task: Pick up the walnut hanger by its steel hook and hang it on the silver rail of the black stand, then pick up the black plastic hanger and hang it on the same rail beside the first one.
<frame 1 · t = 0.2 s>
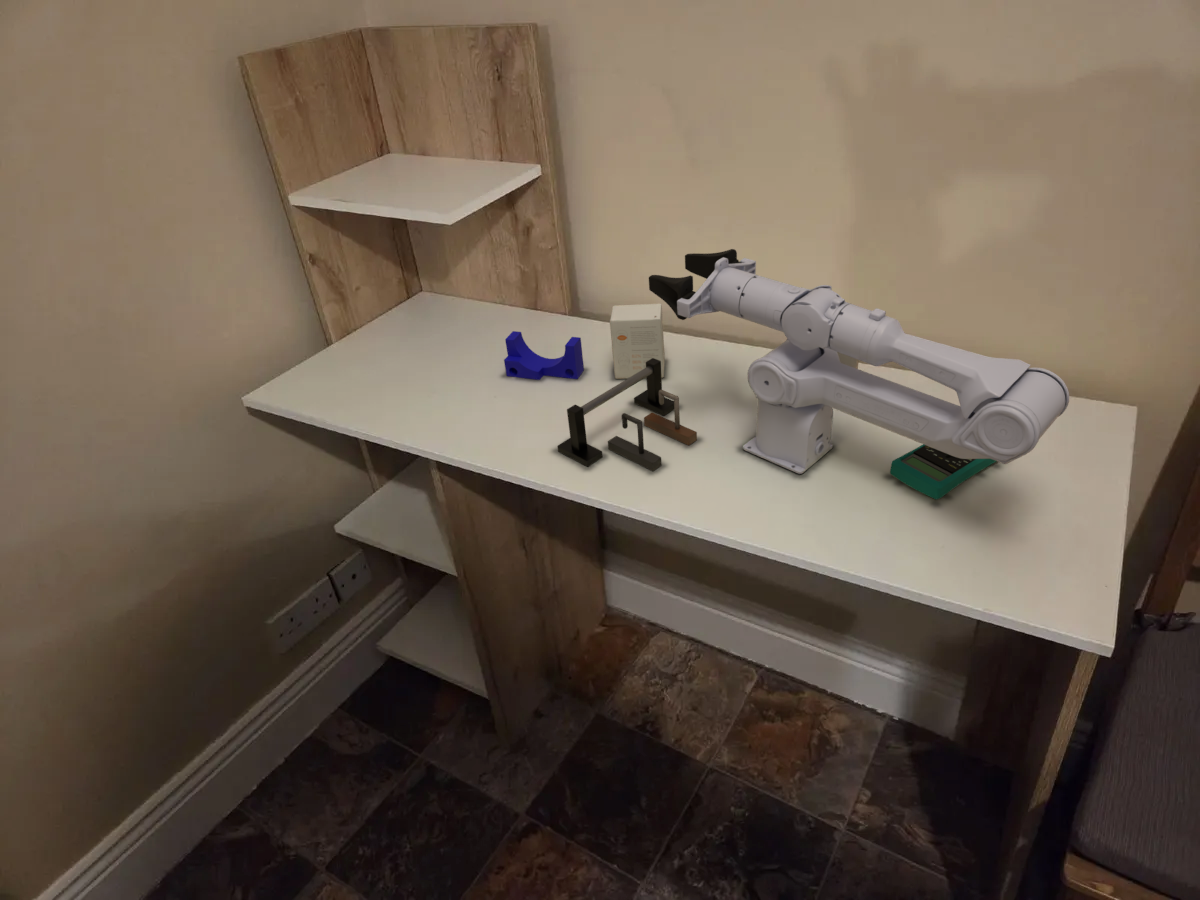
hand: (668, 271, 110), 21 cm above the table, tool horizontal, fingers open, 7 cm apart
black hanger: (634, 457, 112), on the table
blue curved cradle bracket: (545, 374, 133), on the table
small box: (640, 371, 131), on the table
walnut hanger: (670, 432, 116), on the table
digital multimeter: (946, 468, 104), on the table
rail stand: (619, 428, 118), on the table
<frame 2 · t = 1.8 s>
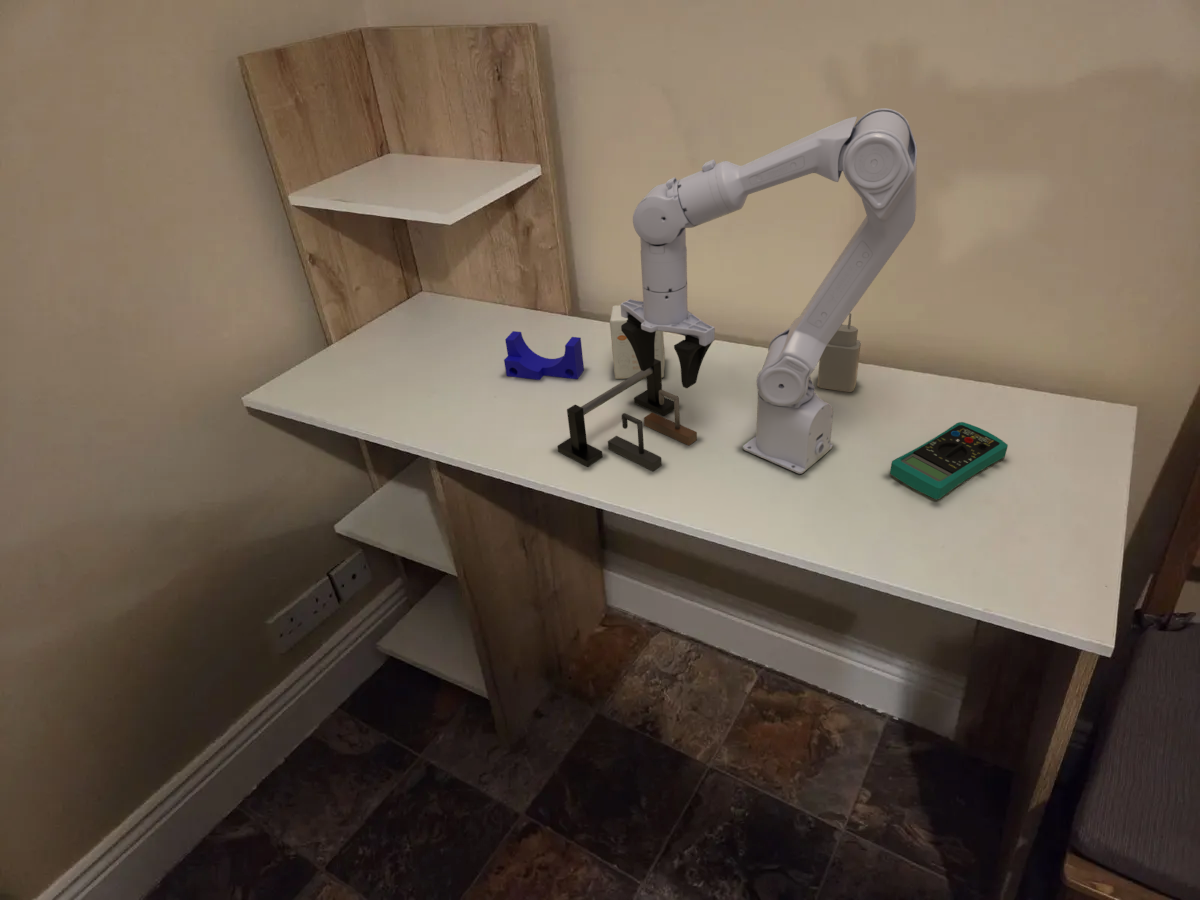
hand: (667, 376, 110), 9 cm above the table, tool pointing down, fingers open, 7 cm apart
nothing on the table moved.
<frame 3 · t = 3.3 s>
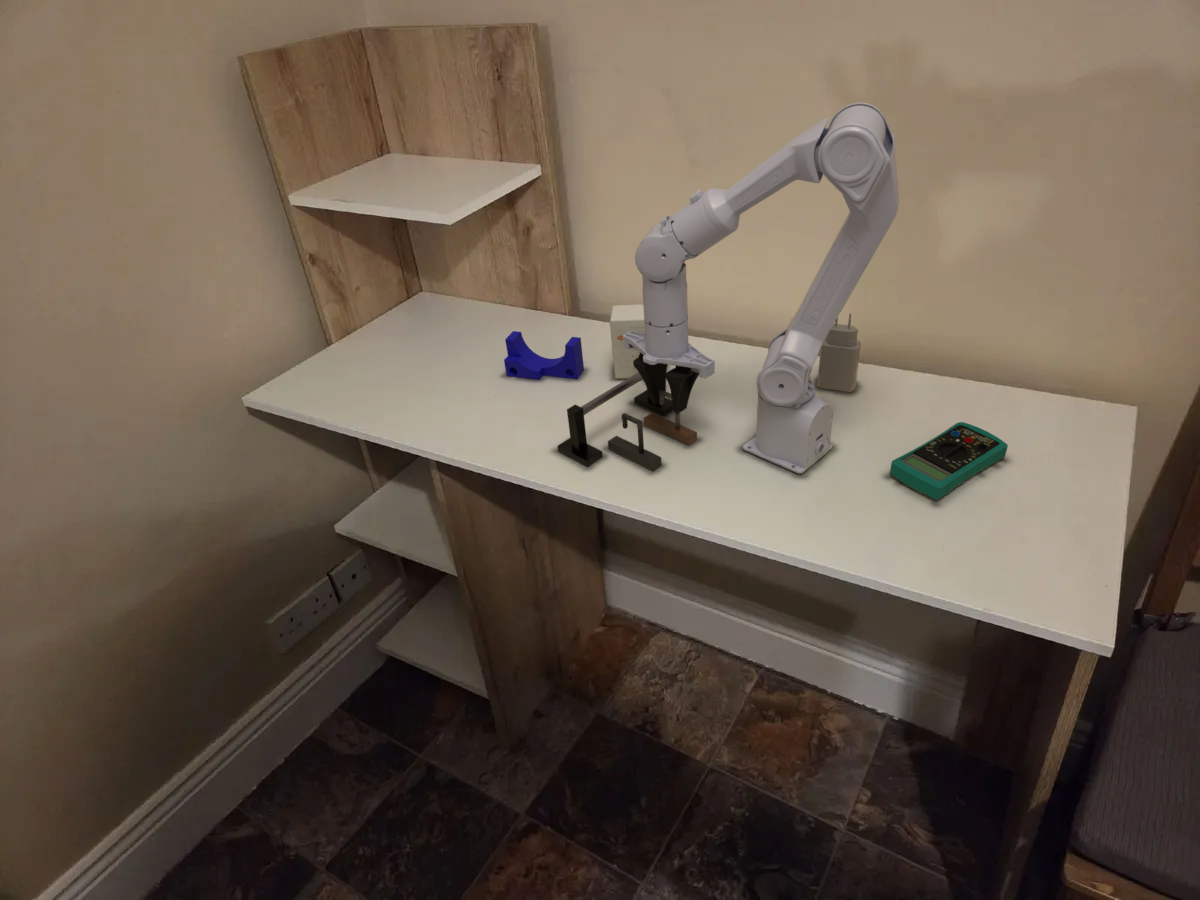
hand: (669, 405, 113), 5 cm above the table, tool pointing down, fingers closed on walnut hanger, 3 cm apart
walnut hanger: (670, 432, 116), on the table, touching gripper
everything else where it was.
when the fingers open (6 cm above the table, at t = 6.4 s): walnut hanger stays where it is, resting on rail stand.
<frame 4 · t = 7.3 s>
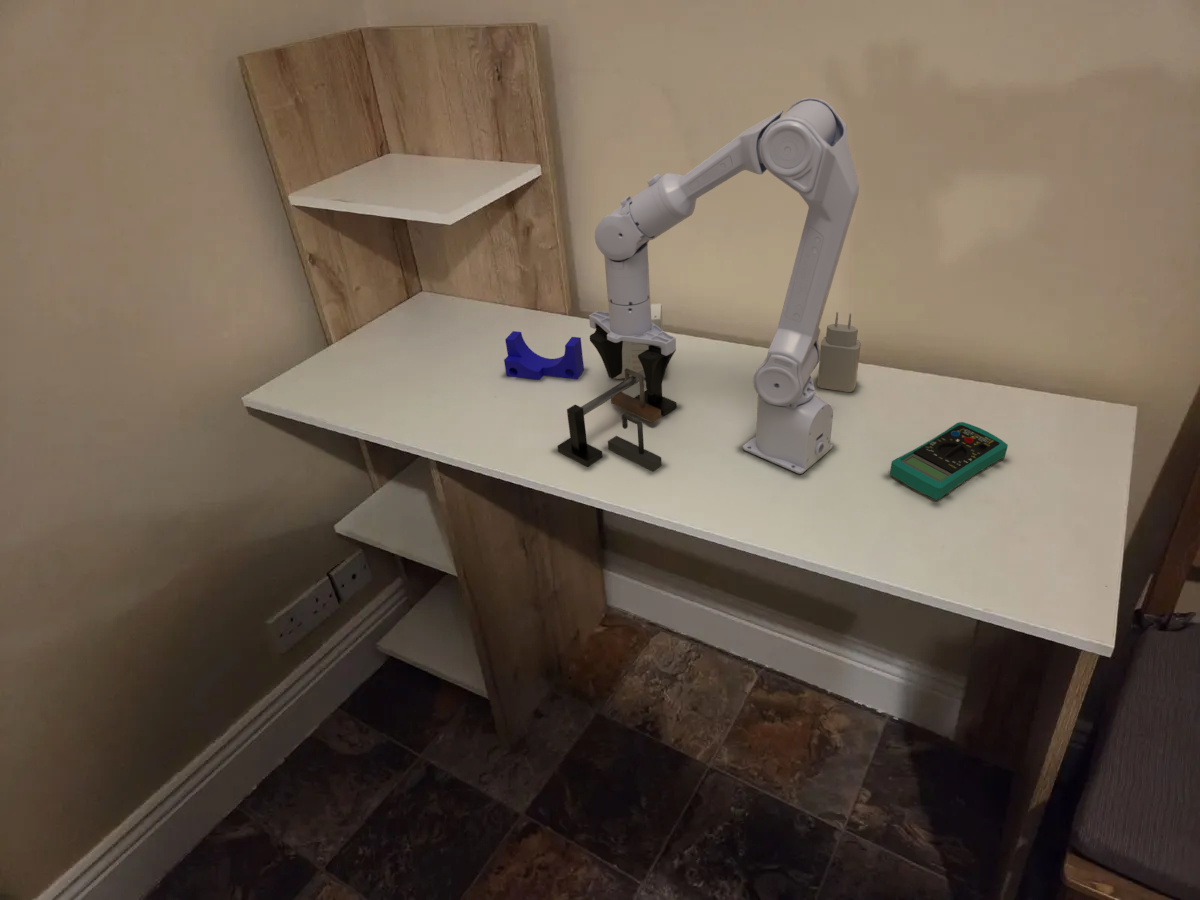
hand: (634, 383, 116), 6 cm above the table, tool pointing down, fingers open, 7 cm apart
walnut hanger: (635, 410, 119), point 1 cm above the table, touching rail stand
everything else where it was.
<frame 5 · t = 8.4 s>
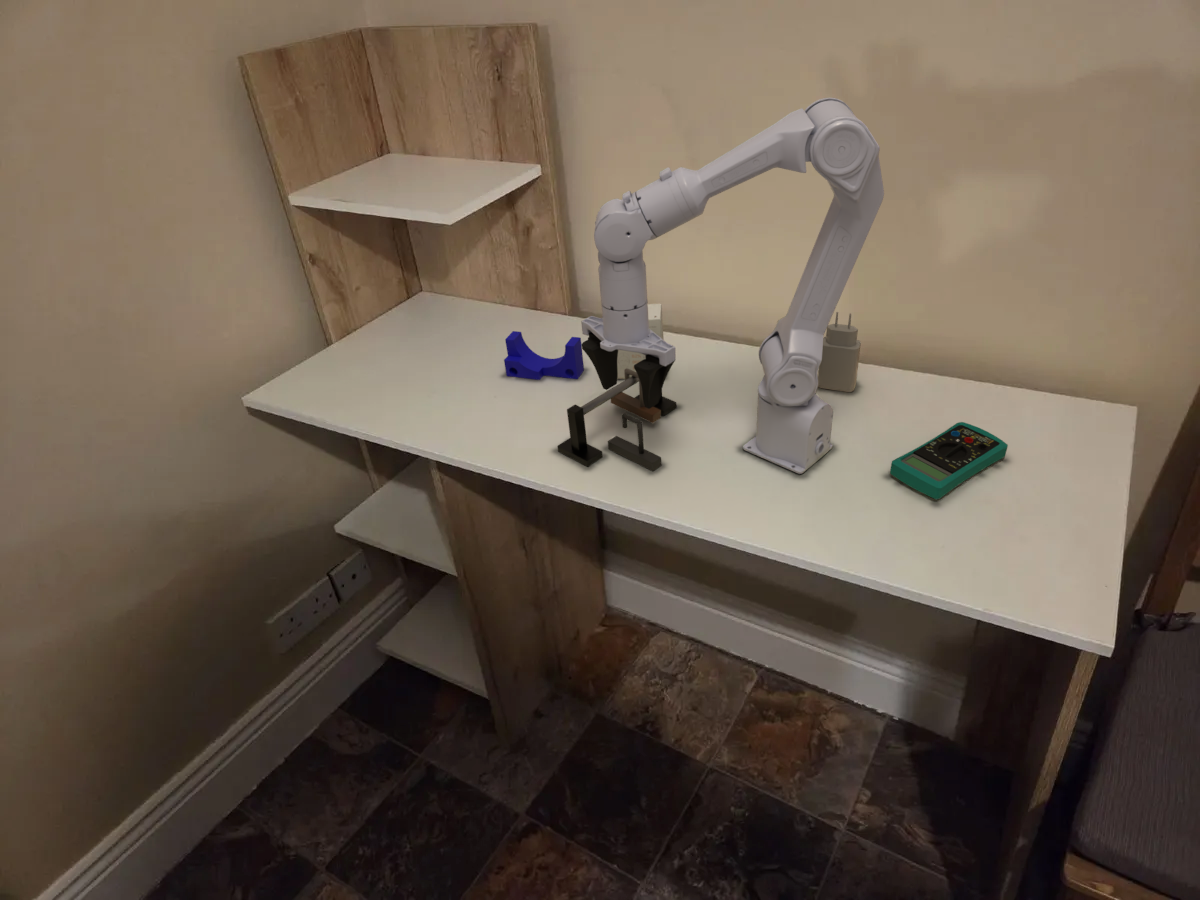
hand: (630, 395, 107), 9 cm above the table, tool pointing down, fingers open, 7 cm apart
nothing on the table moved.
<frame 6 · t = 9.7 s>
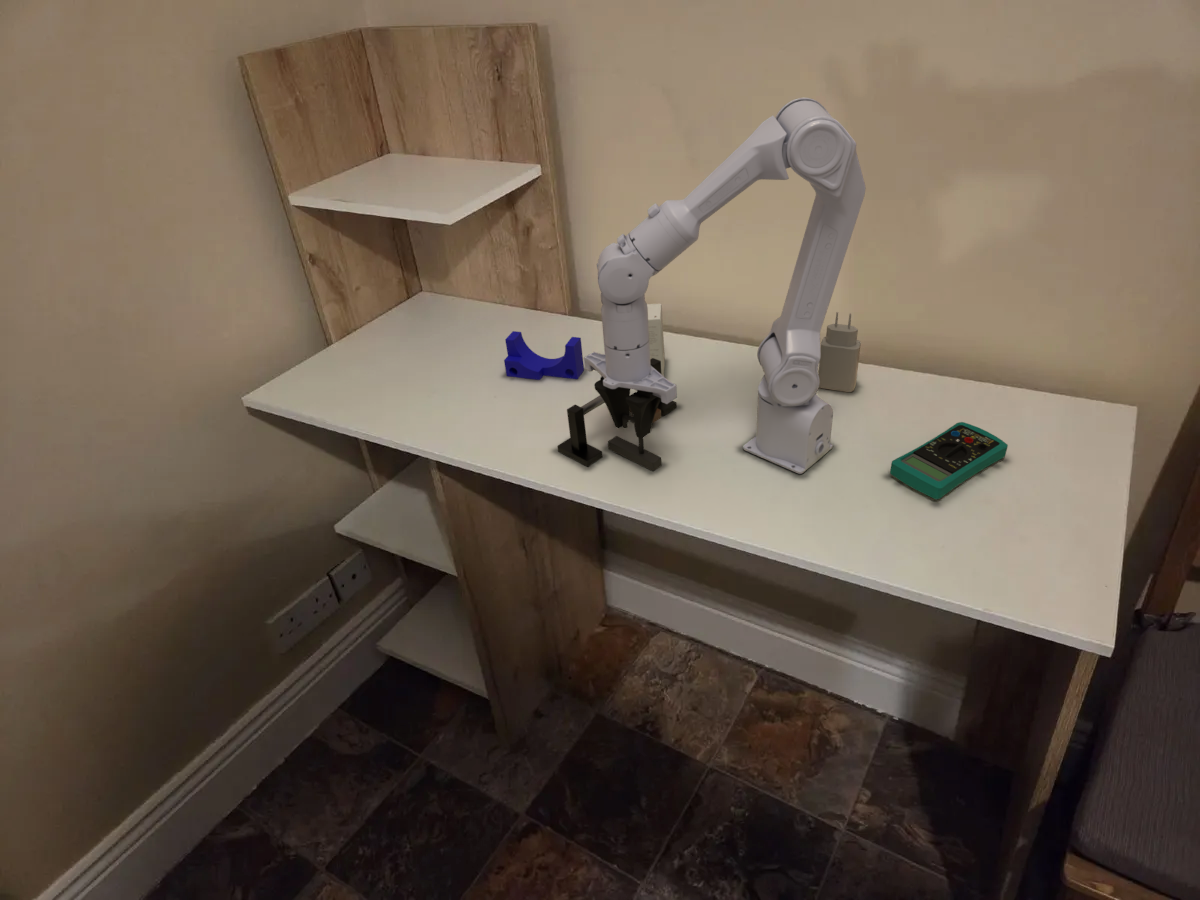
hand: (632, 429, 109), 5 cm above the table, tool pointing down, fingers closed on black hanger, 3 cm apart
black hanger: (634, 457, 112), on the table, touching gripper
everything else where it was.
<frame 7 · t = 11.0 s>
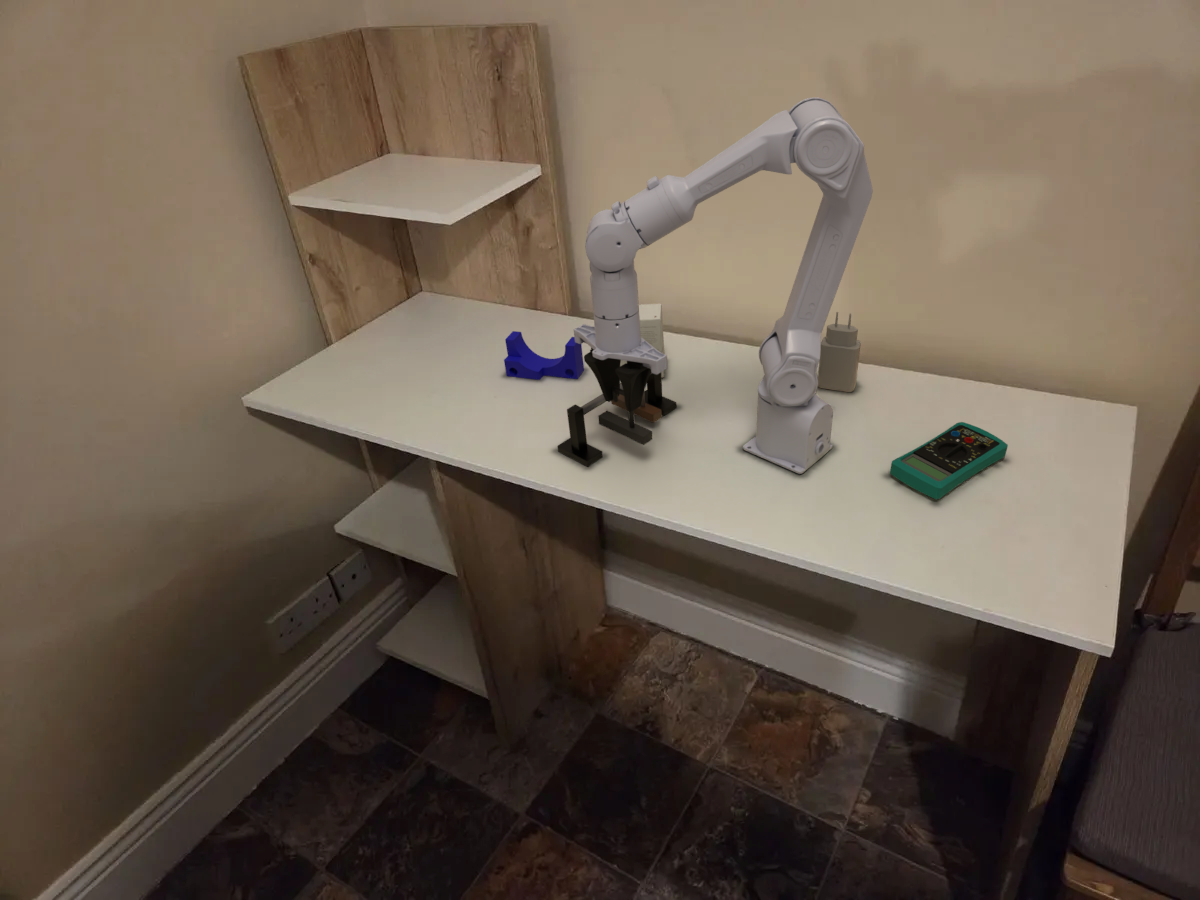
hand: (622, 403, 108), 8 cm above the table, tool pointing down, fingers closed on black hanger, 3 cm apart
black hanger: (625, 431, 110), point 4 cm above the table, touching gripper
everything else where it was.
when the fingers open (6 cm above the table, at t = 13.0 s): black hanger stays where it is, resting on rail stand.
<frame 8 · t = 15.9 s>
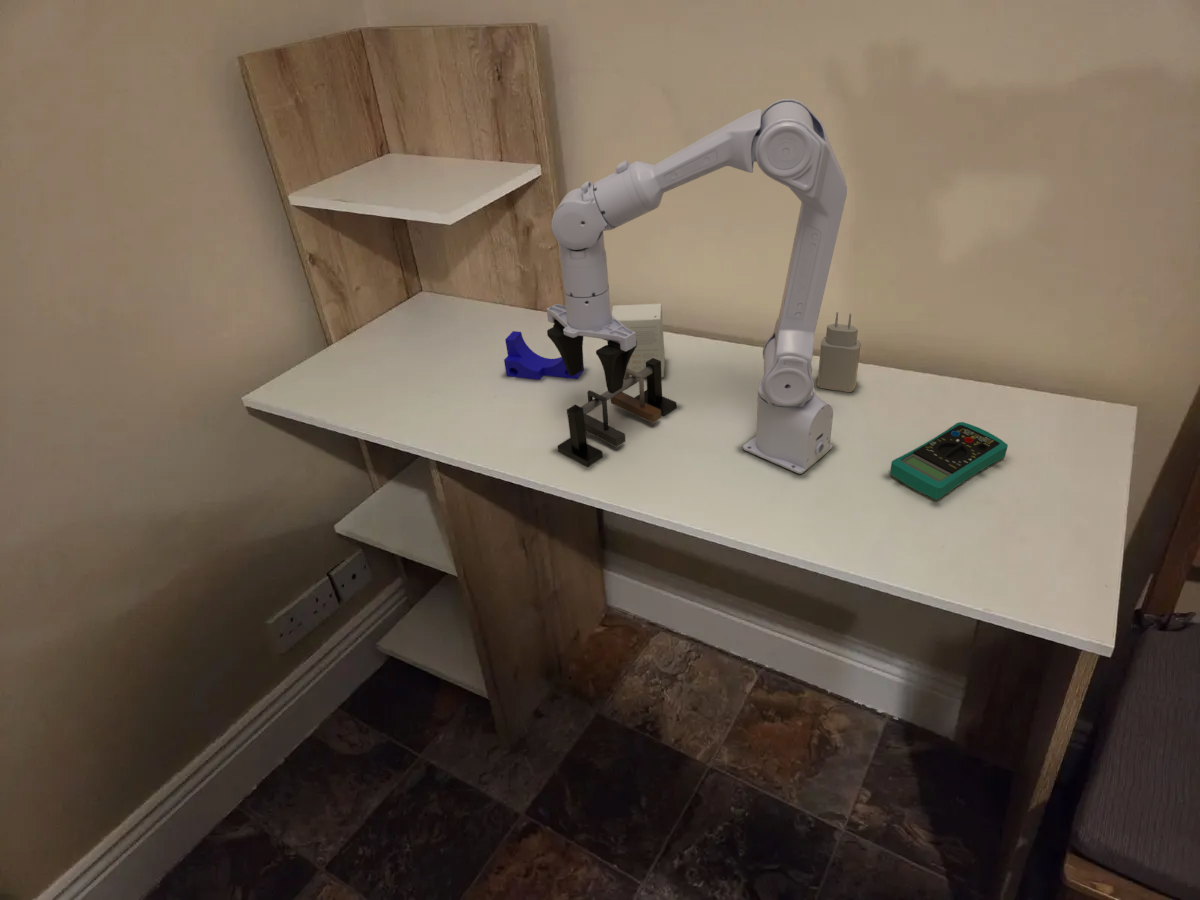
hand: (595, 381, 110), 10 cm above the table, tool pointing down, fingers open, 7 cm apart
black hanger: (599, 433, 115), point 1 cm above the table, touching rail stand
everything else where it was.
at the end: walnut hanger 0.2 cm from the target spot on the rail stand, point 1.2 cm above the rail stand's base; black hanger 0.1 cm from the target spot on the rail stand, point 1.2 cm above the rail stand's base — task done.
